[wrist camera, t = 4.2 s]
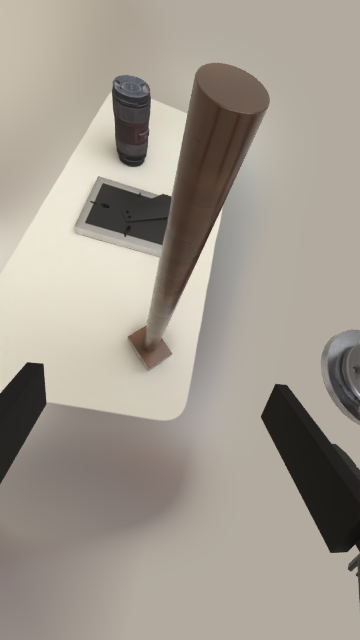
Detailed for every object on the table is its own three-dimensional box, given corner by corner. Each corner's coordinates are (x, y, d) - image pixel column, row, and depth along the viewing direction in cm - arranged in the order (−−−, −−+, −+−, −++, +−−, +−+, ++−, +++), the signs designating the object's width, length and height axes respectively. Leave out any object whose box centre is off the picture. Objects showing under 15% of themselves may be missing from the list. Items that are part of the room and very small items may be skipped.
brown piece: (169, 357, 45) (349, 140, 8) (148, 372, 43) (248, 183, 6) (149, 328, 46) (223, 21, 9) (128, 341, 44) (108, 27, 7)
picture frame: (180, 209, 58) (99, 184, 56) (183, 200, 55) (97, 173, 53) (168, 259, 52) (76, 233, 50) (170, 251, 50) (73, 224, 47)
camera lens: (142, 146, 63) (146, 74, 49) (150, 168, 61) (155, 99, 47) (113, 146, 61) (107, 71, 47) (119, 169, 58) (116, 96, 45)
